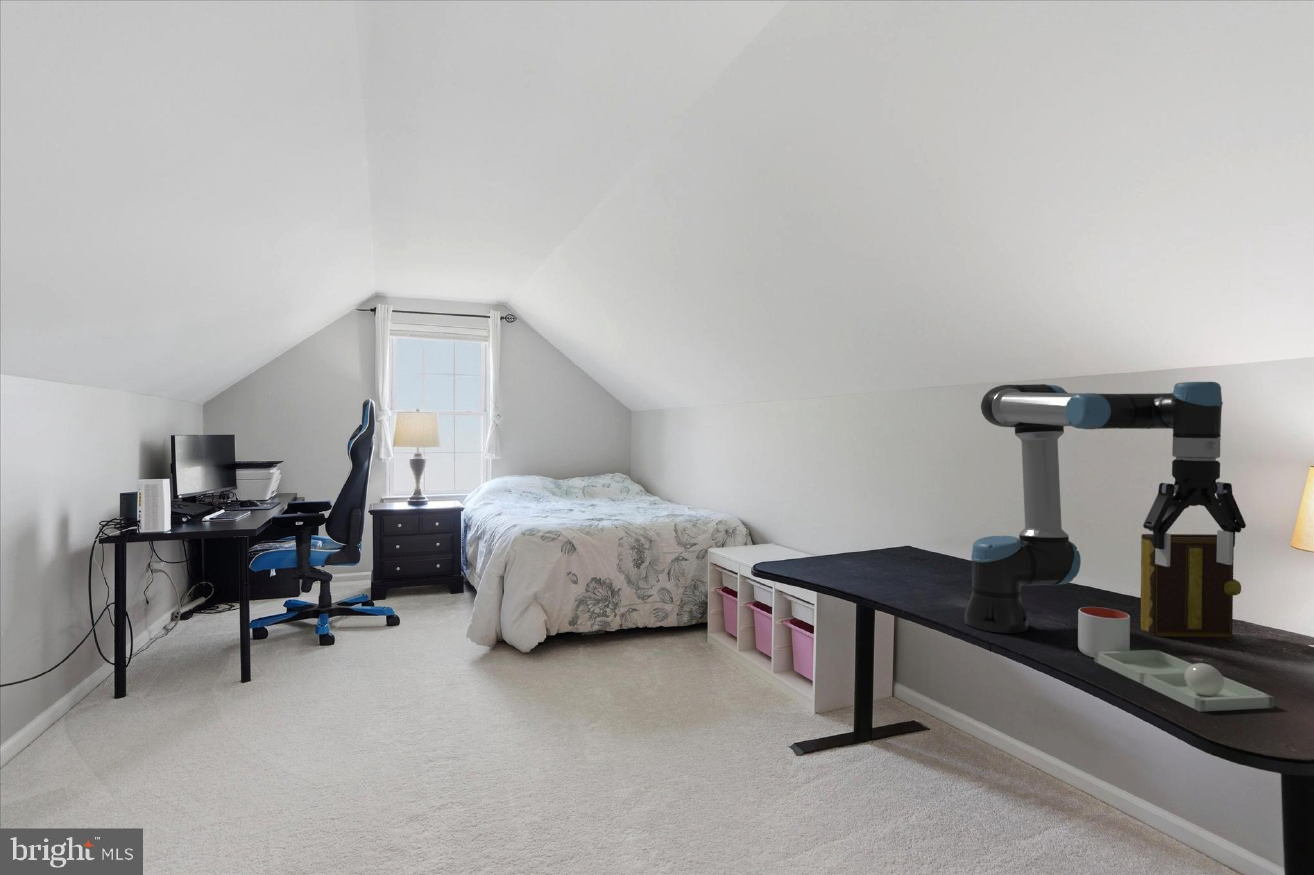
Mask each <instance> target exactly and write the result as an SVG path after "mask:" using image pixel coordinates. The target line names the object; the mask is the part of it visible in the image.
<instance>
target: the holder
mask: <svg viewBox="0 0 1314 875" xmlns="http://www.w3.org/2000/svg"><path fill="white" fill-rule="evenodd" d="M1093 661H1094V662H1095V663H1097V664H1098V665H1101V666H1103V667H1105V668H1108V669H1110V670H1111V671H1113V672H1116V673H1118V674H1120V675H1122V676H1124V677H1126V678H1128V679H1131V680H1132V681H1135V682H1136V683H1139V684H1142V685H1143V686H1145V687H1147V688H1150V689H1152V690H1153V691H1156V692H1157V693H1160V694H1163V695H1164V696H1166V697H1168V698H1170V699H1173V700H1174V701H1176V702H1179V703H1181V704H1183V705H1186V706H1187V707H1190V708H1191V709H1194V710H1195V711H1197V712H1216V711H1217V712H1218V711H1235V710H1236V711H1238V710H1254V709H1255V710H1256V709H1258V710H1259V709H1274V707H1275V702H1274V701H1275V697H1274V696H1272V695H1270V694H1267V693H1265V692H1263V691H1261V690H1258V689H1255V688H1254V687H1250V686H1247V685H1245V684H1243V683H1240V682H1238V681H1236V680H1233V679H1230V678H1228V677H1226V676H1223V679H1224V687H1223V689H1222V690H1221V692H1219V693H1218V694H1216V695H1212V696H1205V695H1201V694H1198V693H1196V692H1194V691H1193V690H1192V689H1190V688H1189V686H1188V685H1187V683H1186V681H1185V678H1184V674H1185V671H1186V669H1187V668H1188V667H1189V666H1190V665H1193V664H1194V663H1191V662H1188V661H1186V660H1183V659H1180V658H1178V657H1176V656H1174V655H1171V654H1168V653H1165V652H1163V651H1161V650H1158V649H1143V650H1142V649H1141V650H1140V649H1136V650H1130V651H1110V652H1094V658H1093Z"/></svg>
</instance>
